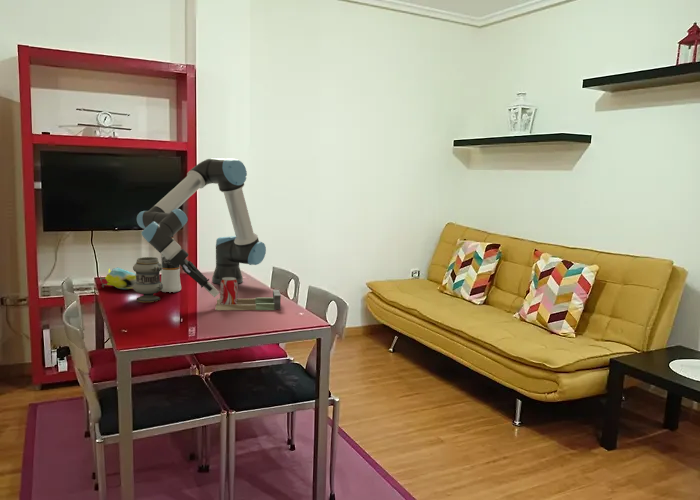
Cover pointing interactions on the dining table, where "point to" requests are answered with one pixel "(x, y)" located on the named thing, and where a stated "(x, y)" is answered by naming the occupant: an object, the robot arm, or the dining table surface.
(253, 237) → the robot arm
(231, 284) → the soda can
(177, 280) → the vodka
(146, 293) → the apothecary jar
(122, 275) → the decorative bird
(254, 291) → the dining table surface
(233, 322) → the dining table surface
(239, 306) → the guide channel
